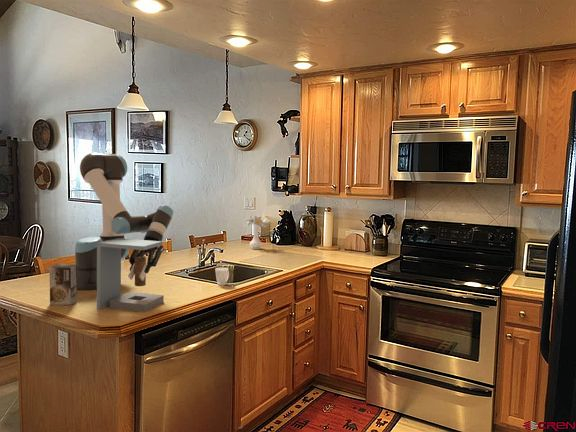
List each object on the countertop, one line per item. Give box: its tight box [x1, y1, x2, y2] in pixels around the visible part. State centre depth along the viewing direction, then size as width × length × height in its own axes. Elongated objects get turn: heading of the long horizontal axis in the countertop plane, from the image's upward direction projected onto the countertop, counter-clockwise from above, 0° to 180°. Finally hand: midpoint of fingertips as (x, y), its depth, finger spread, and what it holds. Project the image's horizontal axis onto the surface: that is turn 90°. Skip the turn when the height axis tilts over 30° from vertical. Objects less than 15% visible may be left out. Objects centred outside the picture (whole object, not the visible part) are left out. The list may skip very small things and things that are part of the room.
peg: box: [134, 256, 147, 287], centre depth 202 cm, size 4×4×12 cm
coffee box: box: [48, 263, 78, 306], centre depth 200 cm, size 9×6×16 cm
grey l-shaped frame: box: [96, 238, 163, 310], centre depth 198 cm, size 21×15×28 cm
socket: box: [109, 291, 165, 313], centre depth 202 cm, size 16×16×3 cm
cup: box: [214, 267, 230, 286], centre depth 246 cm, size 7×10×8 cm
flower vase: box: [246, 215, 269, 250], centre depth 362 cm, size 13×18×25 cm
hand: (135, 278), depth 199 cm, fingers closed on peg, 4 cm apart
